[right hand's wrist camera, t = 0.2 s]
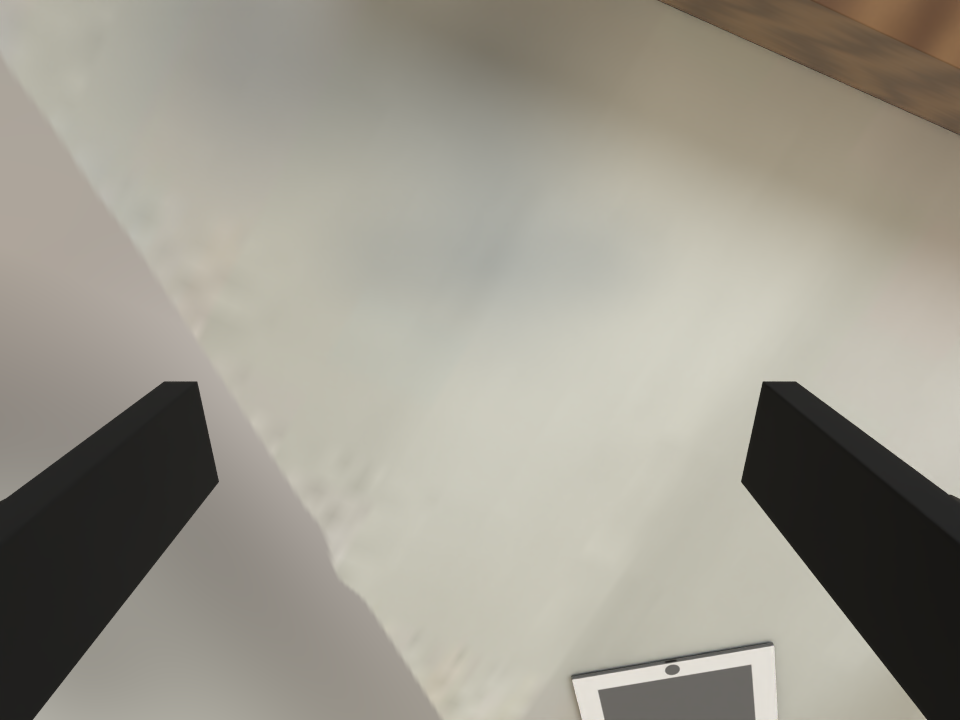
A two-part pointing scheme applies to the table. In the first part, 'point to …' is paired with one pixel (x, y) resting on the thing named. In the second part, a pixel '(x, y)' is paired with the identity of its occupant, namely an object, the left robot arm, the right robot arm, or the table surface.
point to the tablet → (685, 688)
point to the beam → (859, 44)
